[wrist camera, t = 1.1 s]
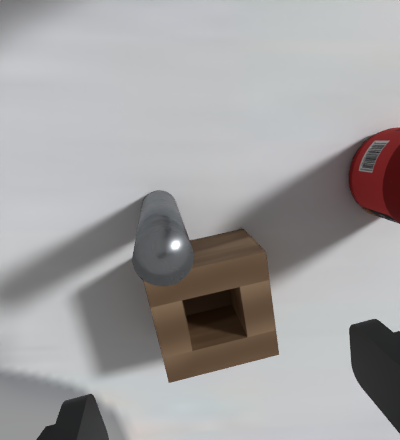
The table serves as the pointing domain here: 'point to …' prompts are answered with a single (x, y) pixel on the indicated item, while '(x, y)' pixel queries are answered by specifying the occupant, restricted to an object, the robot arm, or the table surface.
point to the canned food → (378, 175)
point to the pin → (162, 242)
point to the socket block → (216, 308)
